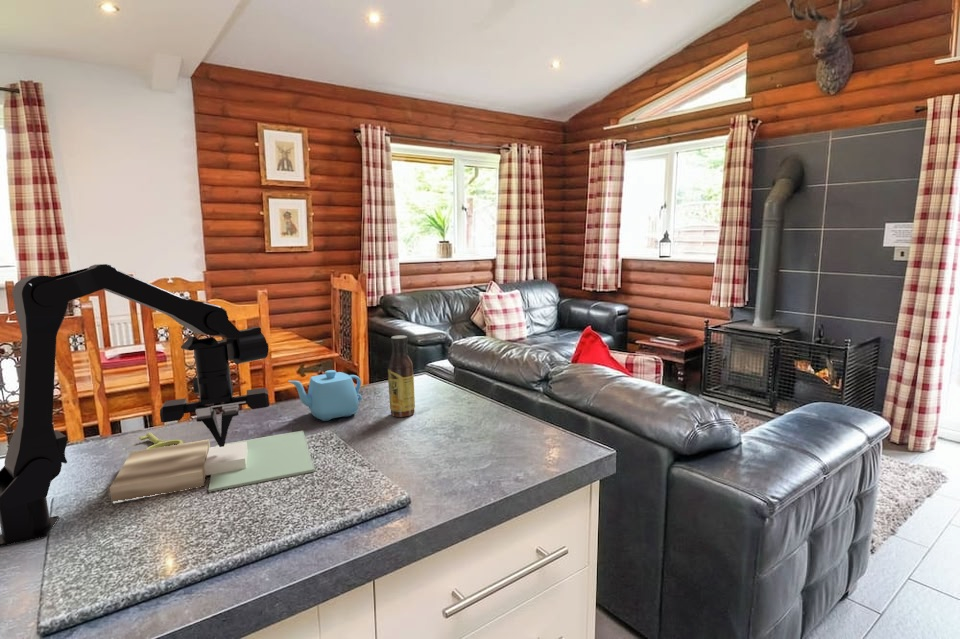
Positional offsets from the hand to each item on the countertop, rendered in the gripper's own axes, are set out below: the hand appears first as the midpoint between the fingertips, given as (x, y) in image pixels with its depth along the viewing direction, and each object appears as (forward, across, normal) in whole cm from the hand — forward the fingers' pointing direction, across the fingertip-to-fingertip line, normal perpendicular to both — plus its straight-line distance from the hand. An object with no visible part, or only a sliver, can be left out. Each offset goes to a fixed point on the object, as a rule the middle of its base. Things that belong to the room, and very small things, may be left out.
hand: (222, 446), depth 105 cm
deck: (+4, +10, 0) cm, 11 cm away
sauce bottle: (+4, -40, -13) cm, 42 cm away
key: (+5, +14, -20) cm, 25 cm away
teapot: (+4, -23, -22) cm, 32 cm away
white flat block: (+4, -1, 0) cm, 4 cm away
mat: (+4, -7, 0) cm, 8 cm away
